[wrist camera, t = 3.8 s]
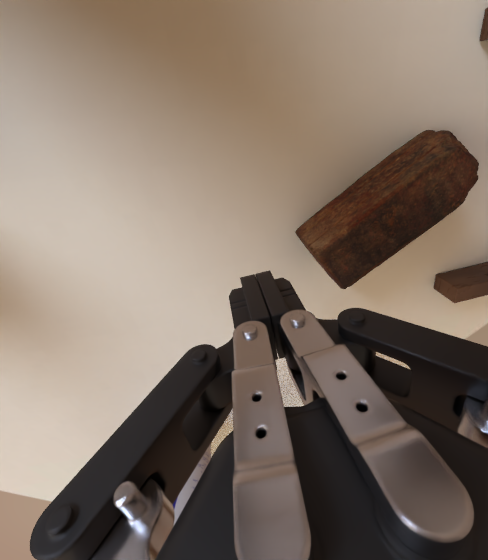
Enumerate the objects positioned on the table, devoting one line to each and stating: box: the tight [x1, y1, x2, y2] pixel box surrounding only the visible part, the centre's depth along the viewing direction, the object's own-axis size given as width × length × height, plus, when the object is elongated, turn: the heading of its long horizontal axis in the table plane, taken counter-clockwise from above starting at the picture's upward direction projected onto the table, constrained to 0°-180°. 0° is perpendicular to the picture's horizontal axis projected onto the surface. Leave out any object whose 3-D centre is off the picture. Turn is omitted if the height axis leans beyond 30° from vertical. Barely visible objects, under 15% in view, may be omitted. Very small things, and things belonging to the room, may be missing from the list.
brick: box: [295, 130, 479, 289], centre depth 19 cm, size 11×4×5 cm, turn 129°
